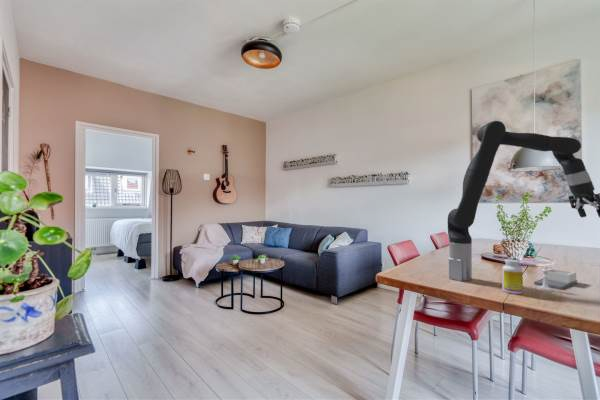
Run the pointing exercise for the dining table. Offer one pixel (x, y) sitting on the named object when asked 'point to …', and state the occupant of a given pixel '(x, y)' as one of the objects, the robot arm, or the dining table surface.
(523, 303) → the dining table surface
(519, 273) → the supplement bottle
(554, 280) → the end cap plate
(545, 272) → the chess piece
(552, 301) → the dining table surface
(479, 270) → the dining table surface
